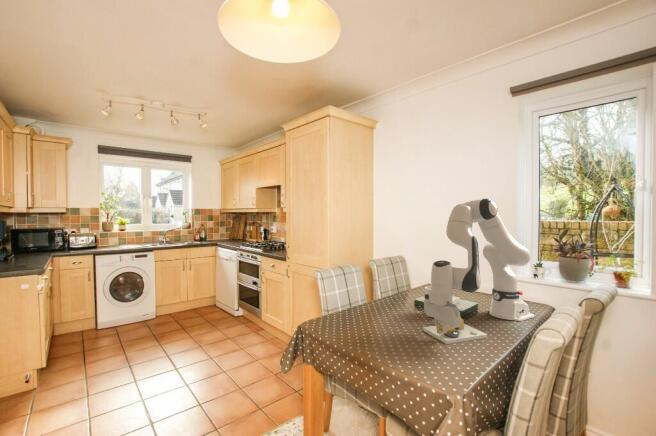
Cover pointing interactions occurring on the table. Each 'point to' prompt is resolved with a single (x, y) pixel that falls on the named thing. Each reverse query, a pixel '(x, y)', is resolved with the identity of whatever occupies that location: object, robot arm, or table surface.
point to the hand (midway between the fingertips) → (441, 330)
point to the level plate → (464, 334)
